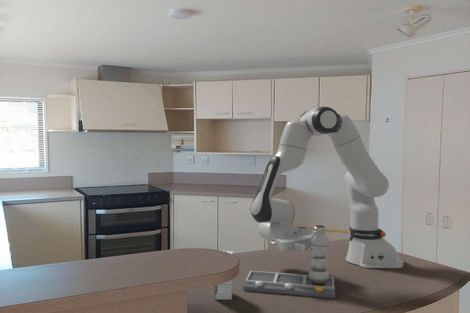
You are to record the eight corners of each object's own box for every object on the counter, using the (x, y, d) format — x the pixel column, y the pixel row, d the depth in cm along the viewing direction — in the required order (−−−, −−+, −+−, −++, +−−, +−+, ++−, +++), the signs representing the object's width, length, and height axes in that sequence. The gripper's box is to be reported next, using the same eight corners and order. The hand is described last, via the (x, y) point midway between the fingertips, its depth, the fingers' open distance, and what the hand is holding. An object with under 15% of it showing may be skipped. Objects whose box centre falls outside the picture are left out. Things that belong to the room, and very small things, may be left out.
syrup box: (215, 292, 132) (215, 250, 131) (233, 293, 131) (233, 250, 131) (214, 299, 126) (214, 255, 125) (232, 300, 126) (232, 255, 125)
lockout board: (333, 282, 141) (333, 275, 141) (335, 298, 127) (335, 290, 127) (250, 276, 147) (250, 269, 147) (243, 290, 133) (243, 282, 133)
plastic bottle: (306, 280, 139) (306, 224, 138) (324, 279, 140) (325, 224, 139) (312, 287, 133) (313, 228, 131) (331, 286, 134) (332, 228, 132)
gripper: (268, 233, 143) (293, 241, 131) (309, 226, 154) (336, 233, 142) (267, 250, 143) (293, 260, 132) (308, 242, 154) (335, 250, 143)
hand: (315, 246), depth 137 cm, fingers open, 8 cm apart
